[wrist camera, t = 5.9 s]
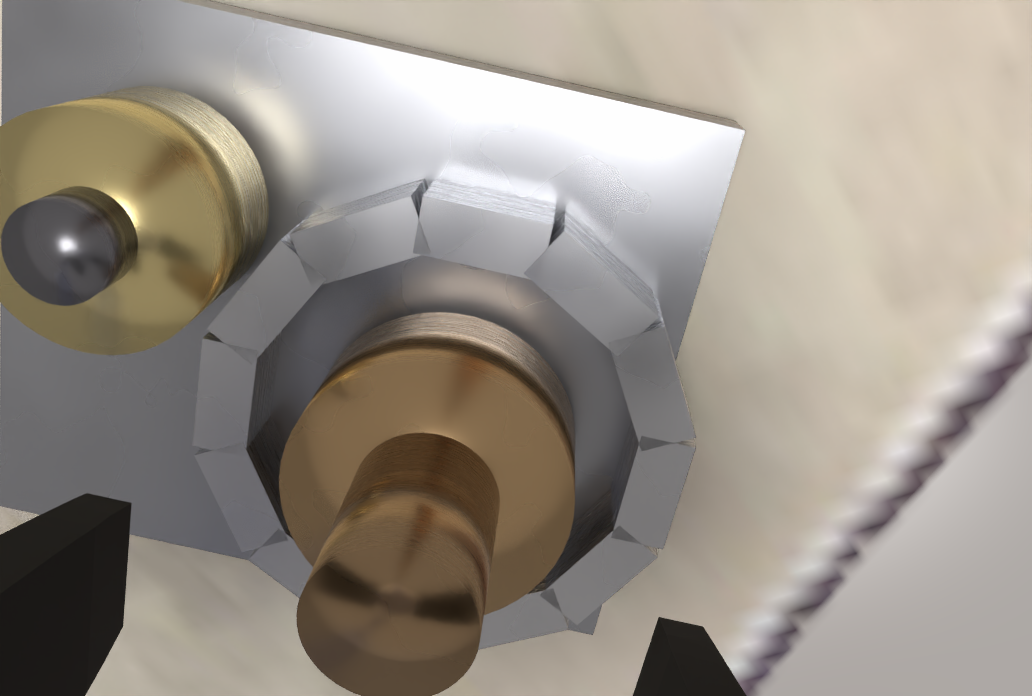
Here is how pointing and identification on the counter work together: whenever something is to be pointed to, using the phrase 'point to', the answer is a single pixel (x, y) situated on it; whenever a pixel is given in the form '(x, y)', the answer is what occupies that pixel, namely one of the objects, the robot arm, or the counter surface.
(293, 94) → the carrier
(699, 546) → the counter surface
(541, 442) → the gear
